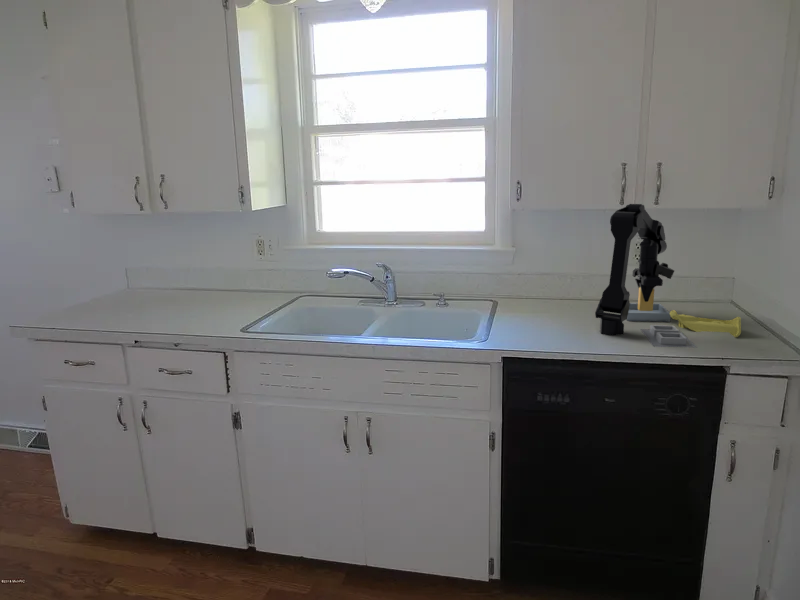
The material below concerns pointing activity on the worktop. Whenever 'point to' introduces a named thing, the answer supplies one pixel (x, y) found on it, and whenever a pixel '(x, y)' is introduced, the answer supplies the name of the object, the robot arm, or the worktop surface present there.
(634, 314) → the parts tray
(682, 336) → the board
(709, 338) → the worktop surface
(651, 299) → the block
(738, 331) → the plastic component
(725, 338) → the worktop surface
